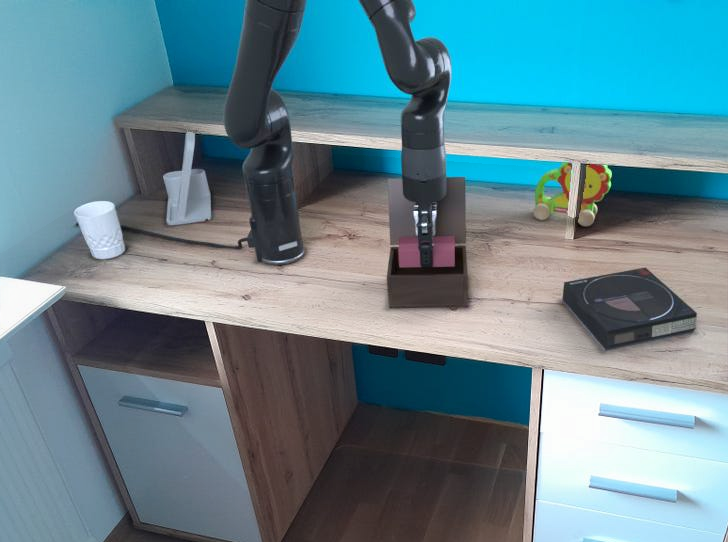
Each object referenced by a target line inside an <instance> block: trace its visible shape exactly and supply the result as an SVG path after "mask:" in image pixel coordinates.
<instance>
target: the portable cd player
mask: <svg viewBox="0 0 728 542" xmlns="http://www.w3.org/2000/svg"><path fill="white" fill-rule="evenodd" d="M561 299H562V301H561V302H562V303H563V304H564V305H565V306H566V308H567V309H568V310H569V311H570V312H571V313H572V314H573V315H574V317H575V318H576V319H577V321H579V323H580V324H581V325H582V326H583V327H584V329H585V330H586V331H587V333H589V334H590V336H591V337H592V338H593V339H594V340H595V341H596V342H597V344H598V345H599V347H601V349H603V351H604V352H606V351H611V350H616V349H621V348H626V347H631V346H637V345H640V344H644V343H650V342H655V341H660V340H664V339H669V338H673V337H674V338H675V337H678V336H683V335H688V334H693V332H695V330H696V329H697V317H698V316H697V315H698V313H697V311H695V310H694V309H693V308H692V307H691V306H690V305H688V304H687V303H686V302H685V301H684V300H683V299H682V298H681V297H679V296H678V295H677V294H676V293H675V292H674V291H673V290H672V289H671V288H669V286H667V285H666V284H665V283H664V282H663V281H662V280H661V279H660V278H658V277H657V276H656V275H655V274H654V273H653V272H652V271H650V269H648V268H647V267H639V268H634V269H629V270H624V271H623V270H622V271H617V272H612V273H607V274H602V275H597V276H591V277H585V278H580V279H573V280H568V281H565V282H563V289H562V298H561Z"/></svg>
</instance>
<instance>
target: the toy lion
mask: <svg viewBox="0 0 728 542" xmlns="http://www.w3.org/2000/svg"><path fill="white" fill-rule="evenodd" d="M571 170H572V164H571V163H563V162H562V163H561V165H560V166H559V168H554V169H551V170H549V171H547V172H545V173H544V174H542V176H541V177H540V179H539V181H538V183H537V185H536V187H535V195H534V203H535V204H534V205H535V206H534V208H533V216H534V217H535V218H536V219H537V220H539V221H545V220H548V218H549V216H550V215H552V214H557V213H559V214H566V215H568V214H567V211H568V202H569V192H570V182H571ZM612 173H613V172H612V170H611V169H610V168H609V166H608V164H607V165H594V164H590V165H587V166H586V179H585V184H584V192H583V199H582V204H581V210H580V213H579V219H578V221H577V223H578V224H579V225H580V226H582V227H591V226H592V225H593V223H594V221H595V219H596V215H597V213H598V206H597V204H596V203H597V202H600V201H602V200H603V198H604V196H605V195H606V194H608V193H609V191H610V189H611V186H612V181H611V179H612V176H613V174H612ZM550 181H555V182H556V183H558V184H559V185H560V186H561V188H562V192H560V193H557V194H555V195H554V196H552V197H550V196H548V195H545V185H546V183H548V182H550Z"/></svg>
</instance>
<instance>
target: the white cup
mask: <svg viewBox="0 0 728 542" xmlns="http://www.w3.org/2000/svg"><path fill="white" fill-rule="evenodd" d="M73 215H74V217H75V219H76V223H77V222H78V224H79V229H80V231H81V234H82V236H83V238H84V240H85V242H86V244H87V246H88V249H89V251H90V254H91V256H92V257H93V258H94V259H96V260H109V259H113V258H116V257H118V256H120V255H122V254H123V253H124V252H125V251H126V245H125V241H124V236H123V231H122V229H121V227H120V225H121V224H120V220H119V217H118V213H117V209H116V206H115V203H113V202H111V201H107V200H97V201H91V202H88V203H84V204H81V205H80V206H78V207H76V208H75V210H74V211H73Z"/></svg>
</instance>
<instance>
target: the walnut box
mask: <svg viewBox="0 0 728 542" xmlns="http://www.w3.org/2000/svg"><path fill="white" fill-rule="evenodd" d="M398 249H399V246H390V248H389V257H388V264H387V270H386V271H387V272H386V284H387V285H386V286H387V287H386V288H387V298H388V308H389V310H390V309H429V308H430V309H436V308H437V309H438V308H439V309H441V308H442V309H443V308H468V305H469V303H468V302H469V300H468V299H469V298H468V296H469V288H468V287H469V285H468V283H469V278H468V277H469V275H468V274H469V273H468V258H467V245H455V266H454V267H399V254H398Z"/></svg>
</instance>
